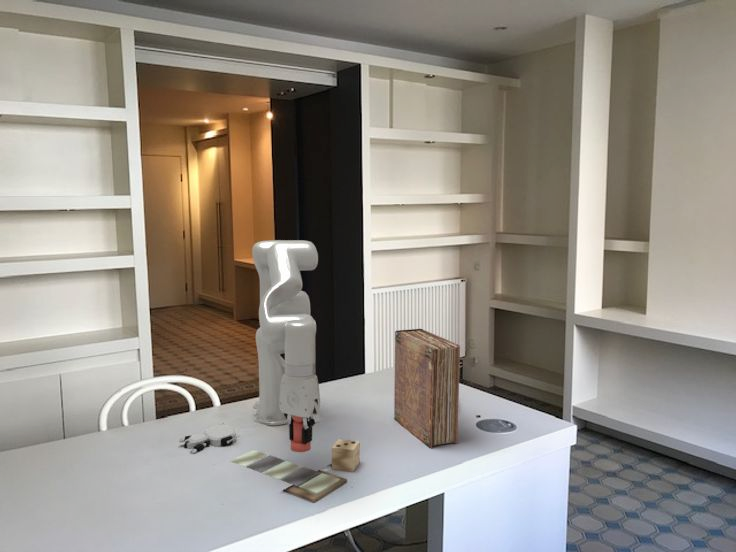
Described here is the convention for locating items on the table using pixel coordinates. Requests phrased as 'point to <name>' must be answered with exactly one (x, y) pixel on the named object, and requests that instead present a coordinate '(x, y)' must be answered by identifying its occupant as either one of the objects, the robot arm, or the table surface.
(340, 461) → the die
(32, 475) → the table surface
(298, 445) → the pawn
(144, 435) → the table surface
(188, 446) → the robot toy
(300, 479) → the board
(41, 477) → the table surface
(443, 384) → the book
